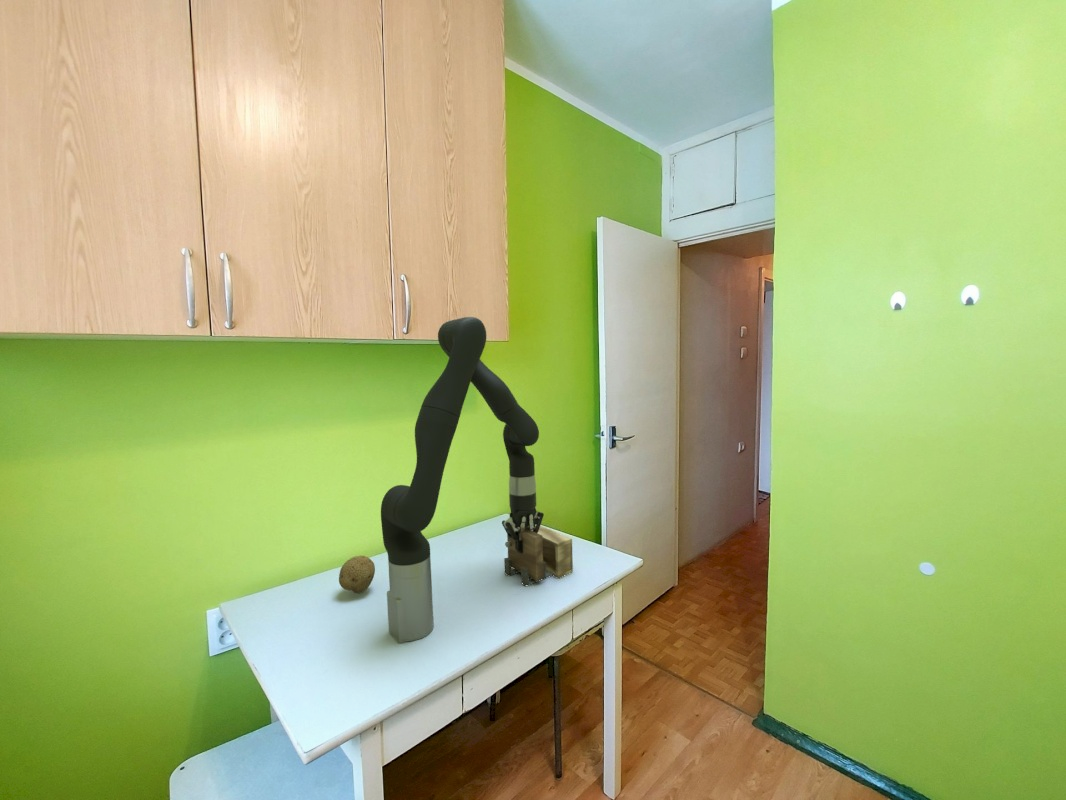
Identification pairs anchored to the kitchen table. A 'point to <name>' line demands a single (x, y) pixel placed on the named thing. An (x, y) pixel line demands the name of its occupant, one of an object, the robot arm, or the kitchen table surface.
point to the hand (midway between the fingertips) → (524, 550)
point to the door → (527, 554)
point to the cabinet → (549, 557)
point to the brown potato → (357, 574)
